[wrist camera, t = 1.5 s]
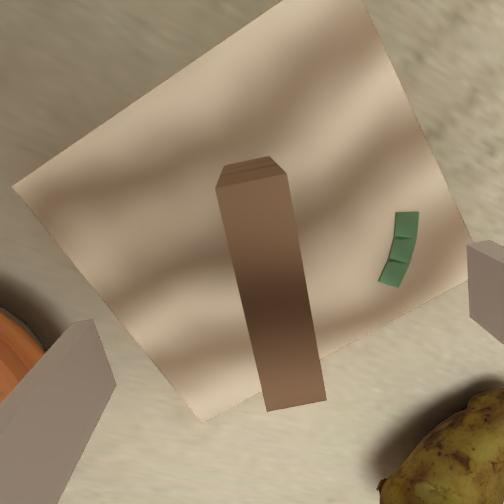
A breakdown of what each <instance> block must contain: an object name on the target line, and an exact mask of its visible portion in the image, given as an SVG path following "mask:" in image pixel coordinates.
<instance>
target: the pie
mask: <svg viewBox="0 0 504 504" xmlns="http://www.w3.org/2000/svg"><path fill="white" fill-rule="evenodd" d="M44 354H45V351H44V349H43V346H42V344H41V342H40V341H39V340H38V338H37V337H36V336H35V335H34V333H33V332H32V331H31V330H30V328H29V327H28V326H27V325H26V324H25V323H24V322H23V321H21V320H20V319H19V318H17V317H16V316H15V315H13V314H12V313H11V312H9V311H8V310H7V309H5V308H2V307H0V404H1V402H2V401H3V400H4V399H5V398H6V397H7V396H8V395H9V393H10V392H11V391H12V390H13V389H14V388H15V387H16V386H17V384H18V383H19V382H20V381H21V380H22V379H23V378H24V377H25V375H26V374H27V373H28V372H29V371H30V370H31V369H32V368H33V366H34V365H35V364H36V363H37V362H38V361H39V360H40V359H41V357H42V356H43V355H44Z"/></svg>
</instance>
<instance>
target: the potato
mask: <svg viewBox="0 0 504 504" xmlns="http://www.w3.org/2000/svg"><path fill="white" fill-rule="evenodd" d="M377 490H379V493H380V504H503V502H504V389H492V390H488V391H484V392H481V393H478V394H477V395H475V396H474V397H472V398H471V399H470V400H469V402H468V404H467V408H466V409H465V410H462V411H459V412H457V413H455V414H453V415H451V416H450V417H448V418H446V419H445V420H443V421H442V422H440V423H439V424H438V425H437V426H436V427H435V428H433V429H432V430H431V431H430V432H429V433H428V434H426V436H425V437H424V438H423V439H422V440H421V441H420V443H419V444H418V445H417V446H416V448H415V449H414V450H413V451H412V452H411V454H410V455H409V456H408V457H407V459H406V460H405V461H404V462H403V463H402V464H401V465H400V466H399V467H398V469H397V470H396V471H395V472H394V473H393V474H392V475H391V476H390V477H389V478H388V479H383V480H382V479H381V481H380V482H379V485H378V487H377Z"/></svg>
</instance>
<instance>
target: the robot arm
mask: <svg viewBox="0 0 504 504" xmlns="http://www.w3.org/2000/svg"><path fill="white" fill-rule="evenodd" d="M466 249H467V269H468V289H469V310H470V317H471V318H472V319H473V320H474V321H476V322H477V323H478V324H479V325H480V326H482V327H483V328H484V329H485V330H487V331H488V332H489V333H490V334H491V335H493V336H494V337H495V338H496V339H497V340H499V341H500V342H501V343H502V344H504V246H501V245H499V244H497V243H495V242H492V241H490V240H486V241H481V242H476V243H471V244H466ZM115 387H116V382H115V379H114V376H113V374H112V371H111V368H110V365H109V362H108V359H107V357H106V354H105V351H104V348H103V345H102V343H101V340H100V337H99V334H98V331H97V329H96V326H95V323H94V320H93V319H90V320H85V321H80V322H75V323H72V324H71V325H70V326H69V327H68V328H67V329H66V330H65V332H64V333H63V334H62V335H61V336H60V337H59V338H58V339H57V341H56V342H55V343H54V344H53V345H52V346H51V347H50V348H49V350H48V351H47V352H46V353H45V354H44V355H43V356H42V357H41V359H40V360H39V361H38V362H37V363H36V364H35V365H34V366H33V368H32V369H31V370H30V371H29V372H28V373H27V374H26V375H25V377H24V378H23V379H22V380H21V381H20V382H19V383H18V384H17V386H16V387H15V388H14V389H13V390H12V391H11V392H10V393H9V395H8V396H7V397H6V398H5V399H4V400H3V401H2V402H1V404H0V504H57V503H58V501H59V499H60V497H61V495H62V493H63V491H64V489H65V487H66V485H67V483H68V481H69V479H70V477H71V475H72V473H73V471H74V469H75V467H76V465H77V463H78V461H79V459H80V457H81V455H82V453H83V451H84V449H85V447H86V445H87V443H88V441H89V439H90V437H91V435H92V433H93V431H94V429H95V427H96V425H97V423H98V421H99V419H100V417H101V415H102V413H103V411H104V409H105V407H106V405H107V403H108V401H109V399H110V397H111V395H112V393H113V391H114V389H115Z"/></svg>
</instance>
